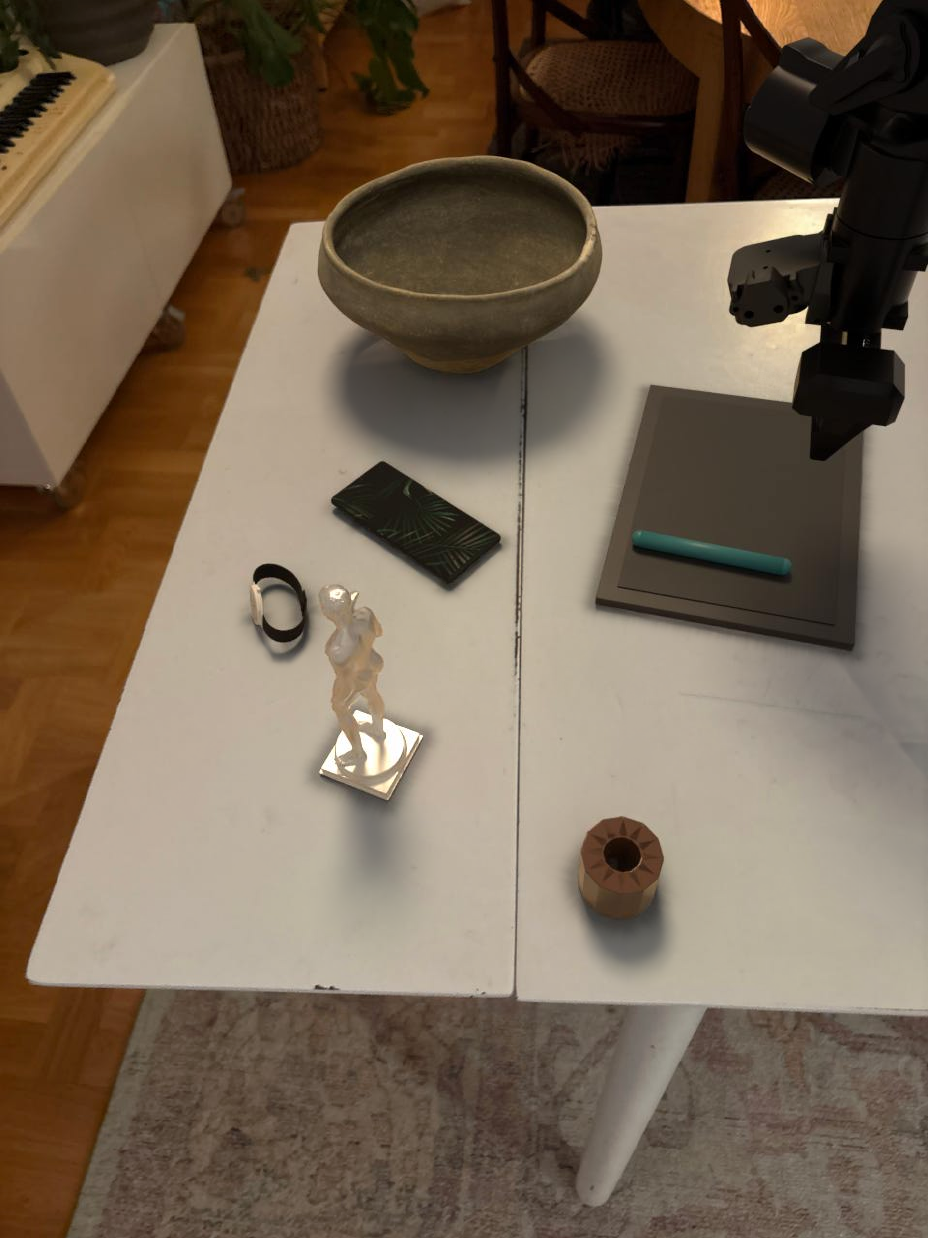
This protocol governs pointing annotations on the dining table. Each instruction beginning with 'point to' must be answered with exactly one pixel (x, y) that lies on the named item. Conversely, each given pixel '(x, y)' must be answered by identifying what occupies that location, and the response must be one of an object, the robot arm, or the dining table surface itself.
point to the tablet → (738, 519)
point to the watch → (257, 606)
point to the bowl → (461, 258)
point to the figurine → (367, 742)
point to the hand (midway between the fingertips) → (820, 417)
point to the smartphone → (416, 521)
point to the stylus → (712, 552)
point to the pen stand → (619, 867)
